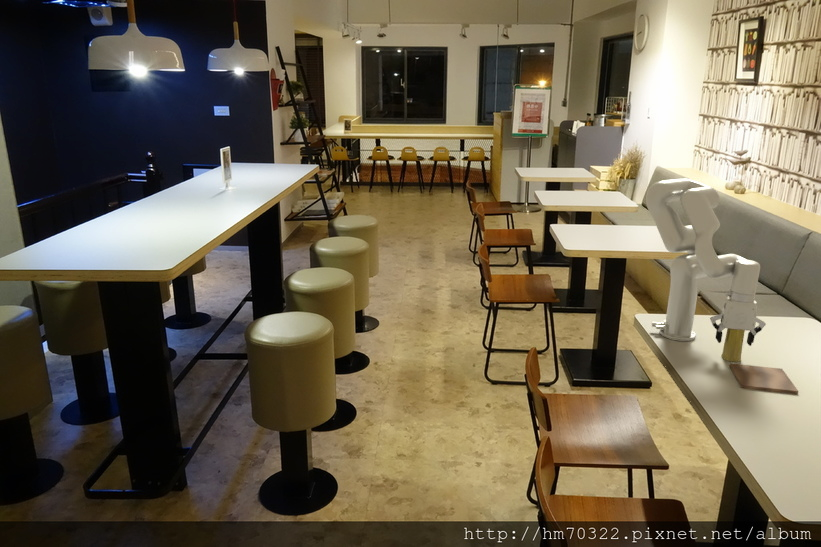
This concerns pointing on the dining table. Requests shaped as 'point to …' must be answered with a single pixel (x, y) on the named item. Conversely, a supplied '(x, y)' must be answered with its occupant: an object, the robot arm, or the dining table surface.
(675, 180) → the robot arm
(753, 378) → the coaster board
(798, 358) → the dining table surface
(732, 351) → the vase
